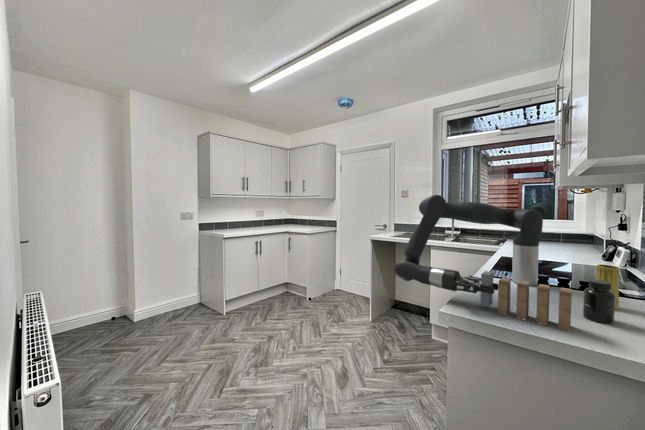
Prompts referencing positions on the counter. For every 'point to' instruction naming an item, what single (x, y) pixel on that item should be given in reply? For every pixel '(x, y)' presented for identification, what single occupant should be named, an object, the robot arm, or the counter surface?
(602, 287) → the supplement bottle
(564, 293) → the domino
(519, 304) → the domino
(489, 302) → the domino
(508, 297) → the domino
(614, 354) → the counter surface
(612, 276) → the vase
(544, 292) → the domino
